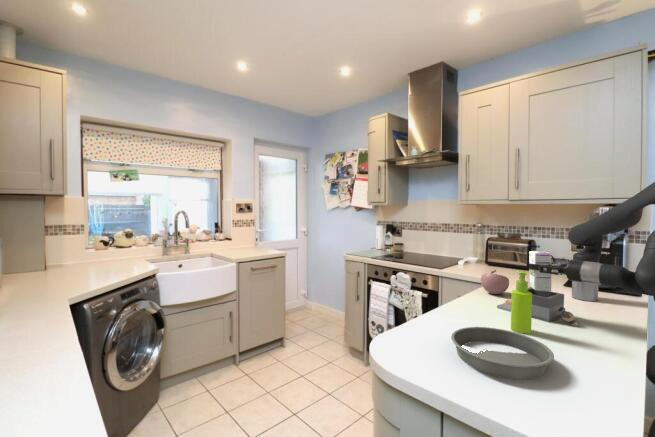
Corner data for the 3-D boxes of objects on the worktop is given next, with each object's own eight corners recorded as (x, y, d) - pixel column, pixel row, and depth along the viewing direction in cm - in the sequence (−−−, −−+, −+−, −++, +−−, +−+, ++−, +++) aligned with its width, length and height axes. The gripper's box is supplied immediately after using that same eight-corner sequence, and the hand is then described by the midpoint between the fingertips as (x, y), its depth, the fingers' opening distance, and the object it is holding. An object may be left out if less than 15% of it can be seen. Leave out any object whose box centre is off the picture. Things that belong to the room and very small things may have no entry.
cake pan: (577, 375, 78) (578, 357, 78) (498, 391, 71) (499, 372, 71) (498, 336, 102) (498, 322, 101) (433, 345, 95) (433, 330, 94)
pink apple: (509, 292, 152) (510, 269, 151) (508, 298, 142) (508, 273, 141) (482, 289, 158) (482, 266, 158) (479, 294, 148) (479, 270, 148)
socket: (512, 303, 135) (512, 283, 135) (563, 316, 119) (564, 294, 119) (496, 307, 129) (497, 287, 129) (548, 322, 113) (549, 299, 113)
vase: (561, 326, 110) (560, 308, 110) (555, 321, 115) (554, 305, 115) (579, 327, 108) (579, 310, 108) (572, 323, 113) (572, 306, 113)
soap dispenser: (527, 327, 108) (528, 270, 108) (533, 334, 102) (535, 274, 101) (508, 325, 110) (509, 268, 110) (512, 332, 104) (514, 272, 103)
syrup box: (552, 291, 117) (552, 252, 117) (534, 290, 119) (534, 252, 118) (544, 287, 123) (545, 251, 123) (528, 287, 124) (528, 250, 124)
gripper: (594, 259, 112) (543, 254, 126) (577, 263, 104) (525, 257, 118) (593, 280, 112) (543, 272, 126) (577, 285, 105) (525, 276, 118)
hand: (534, 265), depth 122 cm, fingers closed on syrup box, 8 cm apart
